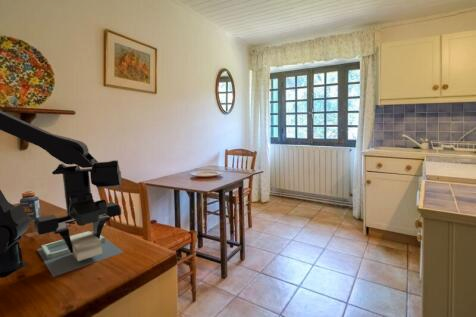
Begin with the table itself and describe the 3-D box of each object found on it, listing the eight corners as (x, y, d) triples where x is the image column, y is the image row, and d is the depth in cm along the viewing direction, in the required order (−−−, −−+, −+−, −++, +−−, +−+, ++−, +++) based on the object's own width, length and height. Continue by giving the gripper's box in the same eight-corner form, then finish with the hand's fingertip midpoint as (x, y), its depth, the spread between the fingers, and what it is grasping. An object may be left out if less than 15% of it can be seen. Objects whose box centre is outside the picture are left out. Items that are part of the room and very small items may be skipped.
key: (26, 240, 87) (78, 227, 97) (25, 238, 87) (78, 225, 97) (24, 234, 91) (75, 222, 101) (24, 232, 91) (75, 220, 101)
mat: (124, 253, 72) (124, 252, 72) (53, 278, 61) (53, 276, 61) (97, 233, 88) (97, 232, 88) (37, 250, 77) (36, 249, 77)
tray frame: (105, 241, 80) (105, 238, 80) (48, 259, 70) (47, 255, 70) (95, 234, 86) (95, 230, 86) (41, 249, 76) (41, 245, 76)
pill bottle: (18, 222, 104) (14, 194, 102) (28, 217, 110) (25, 190, 108) (35, 221, 104) (31, 193, 103) (44, 216, 110) (40, 189, 109)
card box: (102, 253, 69) (100, 240, 68) (78, 261, 65) (76, 247, 65) (90, 242, 76) (88, 230, 75) (67, 249, 72) (66, 236, 72)
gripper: (38, 203, 56) (47, 273, 58) (127, 187, 69) (132, 245, 71) (30, 195, 64) (38, 257, 66) (111, 182, 77) (116, 234, 79)
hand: (84, 248), depth 70 cm, fingers closed on card box, 5 cm apart
